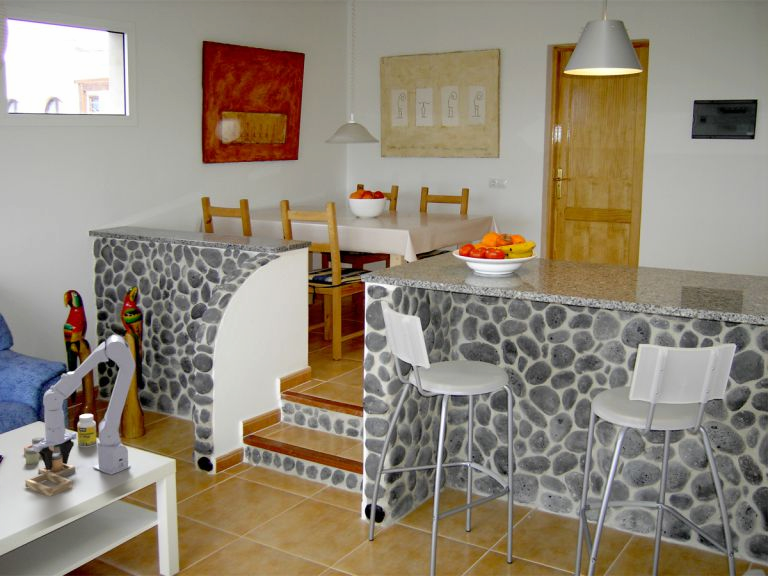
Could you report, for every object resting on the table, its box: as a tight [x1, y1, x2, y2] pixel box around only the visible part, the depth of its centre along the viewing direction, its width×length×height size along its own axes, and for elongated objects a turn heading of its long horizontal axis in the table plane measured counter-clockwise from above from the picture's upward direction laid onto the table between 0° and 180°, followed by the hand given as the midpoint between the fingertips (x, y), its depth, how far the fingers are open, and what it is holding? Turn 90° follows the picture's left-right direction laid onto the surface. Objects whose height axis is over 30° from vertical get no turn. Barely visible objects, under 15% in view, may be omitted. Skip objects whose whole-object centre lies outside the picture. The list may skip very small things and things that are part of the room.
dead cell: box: [31, 436, 46, 448], centre depth 281 cm, size 4×4×5 cm
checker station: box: [24, 463, 76, 497], centre depth 261 cm, size 17×16×2 cm
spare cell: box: [24, 448, 40, 466], centre depth 273 cm, size 4×4×5 cm
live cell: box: [50, 452, 63, 472], centre depth 267 cm, size 4×4×5 cm
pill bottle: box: [77, 413, 97, 448], centre depth 290 cm, size 6×6×11 cm
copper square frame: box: [23, 444, 55, 459], centre depth 281 cm, size 7×7×3 cm
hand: (56, 466), depth 267 cm, fingers open, 5 cm apart
